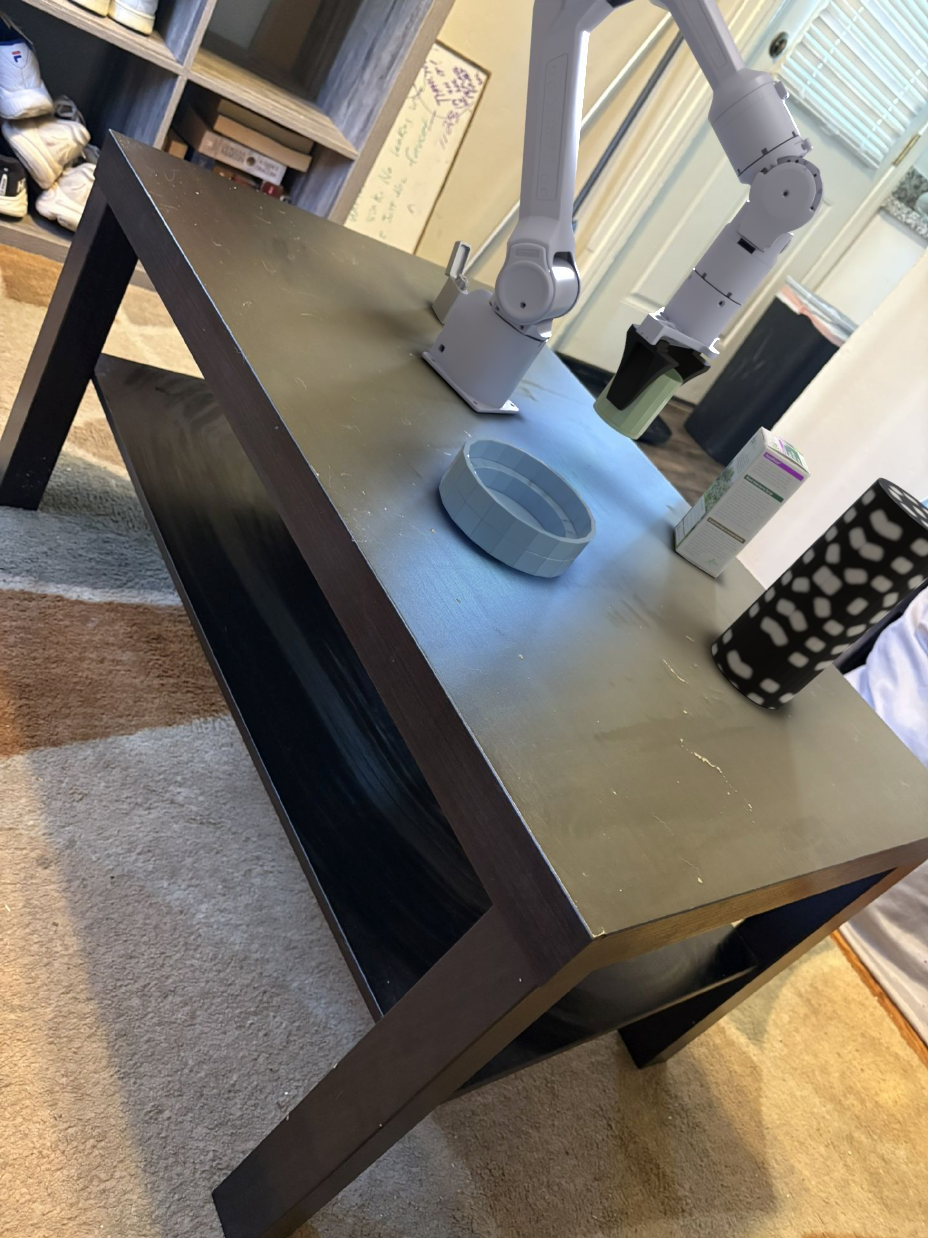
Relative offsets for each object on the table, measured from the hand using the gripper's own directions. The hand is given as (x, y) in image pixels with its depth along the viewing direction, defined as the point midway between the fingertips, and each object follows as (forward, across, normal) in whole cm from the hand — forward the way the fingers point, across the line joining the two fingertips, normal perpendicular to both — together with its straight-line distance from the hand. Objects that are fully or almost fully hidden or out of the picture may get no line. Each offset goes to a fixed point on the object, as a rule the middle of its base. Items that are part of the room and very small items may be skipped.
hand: (627, 404), depth 88 cm
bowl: (+9, -21, -6) cm, 24 cm away
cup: (+2, 0, 0) cm, 2 cm away
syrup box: (+9, +8, -14) cm, 18 cm away
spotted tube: (+9, -5, -27) cm, 29 cm away
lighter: (+9, +6, +30) cm, 32 cm away
